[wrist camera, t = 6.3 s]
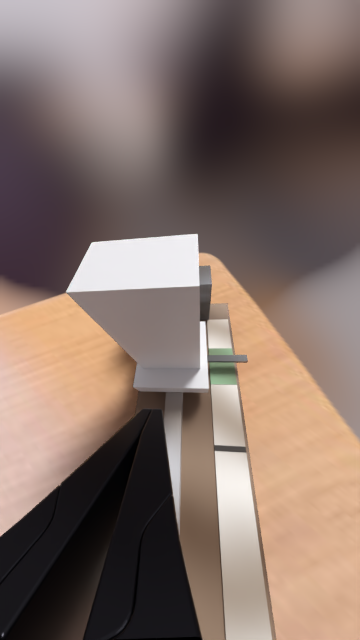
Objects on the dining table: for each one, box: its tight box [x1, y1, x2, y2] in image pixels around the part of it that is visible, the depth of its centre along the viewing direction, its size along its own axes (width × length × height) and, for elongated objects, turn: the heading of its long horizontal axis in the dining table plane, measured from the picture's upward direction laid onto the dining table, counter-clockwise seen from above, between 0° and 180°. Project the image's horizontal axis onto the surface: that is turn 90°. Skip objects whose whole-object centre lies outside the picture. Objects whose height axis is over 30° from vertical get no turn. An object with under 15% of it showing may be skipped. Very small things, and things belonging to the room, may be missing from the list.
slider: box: [66, 234, 248, 393], centre depth 9 cm, size 5×8×10 cm, turn 88°
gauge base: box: [135, 266, 276, 640], centre depth 11 cm, size 20×8×6 cm, turn 178°
